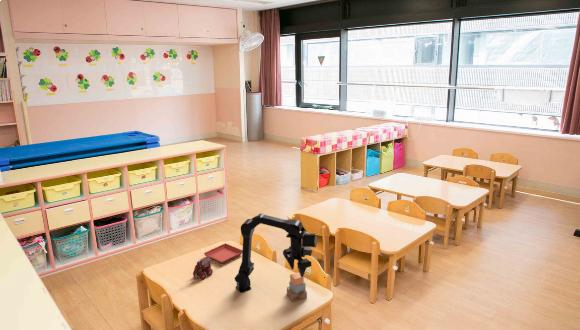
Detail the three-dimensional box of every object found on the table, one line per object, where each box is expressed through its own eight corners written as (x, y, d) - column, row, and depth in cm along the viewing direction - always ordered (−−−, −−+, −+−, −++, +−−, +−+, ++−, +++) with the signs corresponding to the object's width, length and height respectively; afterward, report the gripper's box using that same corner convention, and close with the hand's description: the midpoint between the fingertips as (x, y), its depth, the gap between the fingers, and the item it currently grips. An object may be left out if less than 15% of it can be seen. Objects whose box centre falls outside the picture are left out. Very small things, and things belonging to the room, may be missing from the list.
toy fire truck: (190, 278, 232) (188, 262, 230) (207, 269, 242) (205, 253, 239) (198, 282, 228) (196, 265, 226) (215, 272, 238) (213, 256, 235)
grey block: (295, 293, 208) (295, 286, 207) (289, 288, 213) (289, 281, 212) (305, 289, 211) (305, 282, 210) (299, 284, 216) (298, 277, 215)
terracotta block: (295, 286, 207) (295, 279, 206) (290, 281, 212) (290, 274, 211) (303, 283, 210) (303, 276, 209) (298, 278, 214) (298, 272, 213)
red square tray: (225, 247, 269) (225, 242, 268) (244, 255, 258) (244, 250, 257) (203, 258, 256) (203, 253, 255) (222, 267, 245) (221, 262, 244)
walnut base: (292, 302, 208) (292, 295, 207) (286, 293, 215) (286, 287, 214) (306, 298, 211) (306, 291, 210) (301, 290, 218) (300, 283, 217)
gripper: (320, 247, 201) (320, 276, 206) (299, 234, 217) (300, 261, 221) (301, 254, 196) (302, 283, 200) (281, 239, 212) (283, 267, 216)
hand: (297, 272), depth 209 cm, fingers open, 9 cm apart
